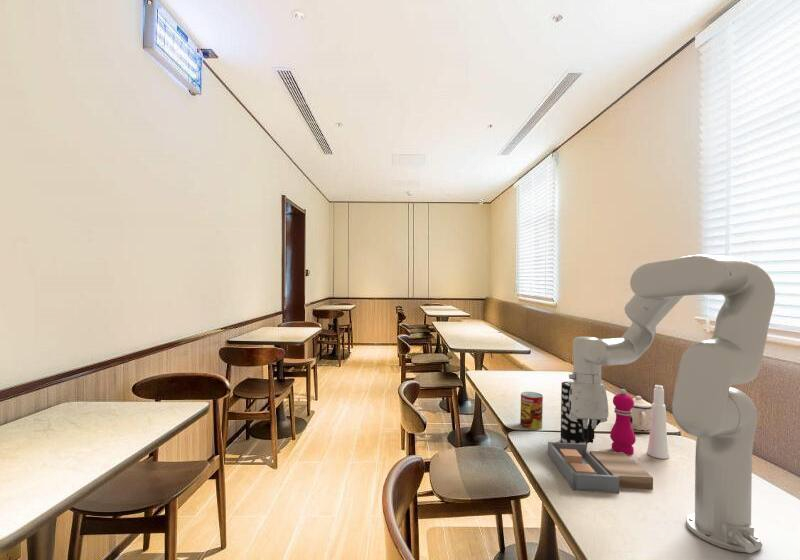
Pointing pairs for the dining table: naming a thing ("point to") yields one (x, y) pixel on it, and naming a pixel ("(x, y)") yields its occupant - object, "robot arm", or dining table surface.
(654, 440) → the cosmetic bottle
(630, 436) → the pepper mill
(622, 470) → the board
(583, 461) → the box
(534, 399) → the canned food
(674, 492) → the dining table surface
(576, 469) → the tile
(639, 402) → the teacup with lid
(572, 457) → the tile
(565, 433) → the spotted tube
